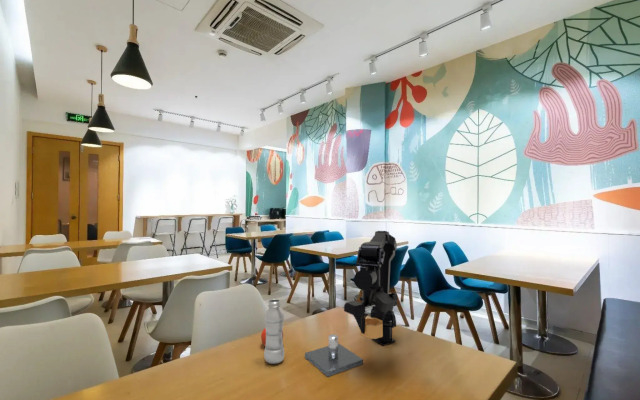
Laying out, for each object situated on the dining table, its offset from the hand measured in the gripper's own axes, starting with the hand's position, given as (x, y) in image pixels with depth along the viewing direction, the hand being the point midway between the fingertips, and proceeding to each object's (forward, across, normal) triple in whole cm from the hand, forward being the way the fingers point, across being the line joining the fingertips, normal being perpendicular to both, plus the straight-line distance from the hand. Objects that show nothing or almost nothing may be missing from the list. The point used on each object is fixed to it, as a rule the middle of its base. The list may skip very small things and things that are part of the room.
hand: (371, 330), depth 96 cm
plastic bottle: (+11, -25, +20) cm, 34 cm away
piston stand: (+11, -9, +9) cm, 17 cm away
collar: (+1, 0, 0) cm, 1 cm away
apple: (+11, -21, +31) cm, 39 cm away
